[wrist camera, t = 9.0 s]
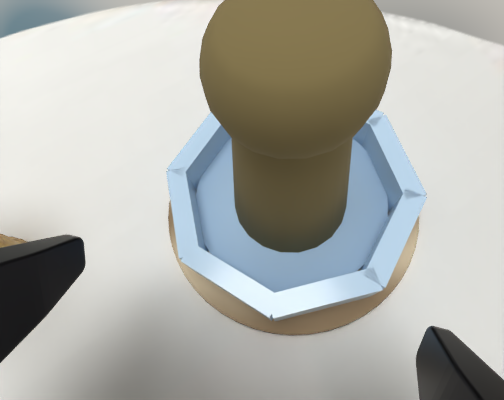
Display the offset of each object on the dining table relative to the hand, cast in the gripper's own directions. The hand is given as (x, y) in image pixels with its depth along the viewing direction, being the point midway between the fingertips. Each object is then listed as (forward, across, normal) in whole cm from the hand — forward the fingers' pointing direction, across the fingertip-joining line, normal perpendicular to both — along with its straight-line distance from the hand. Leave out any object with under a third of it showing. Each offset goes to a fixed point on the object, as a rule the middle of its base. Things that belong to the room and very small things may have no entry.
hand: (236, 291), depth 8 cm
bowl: (+11, 0, +2) cm, 11 cm away
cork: (+10, 0, +1) cm, 10 cm away
